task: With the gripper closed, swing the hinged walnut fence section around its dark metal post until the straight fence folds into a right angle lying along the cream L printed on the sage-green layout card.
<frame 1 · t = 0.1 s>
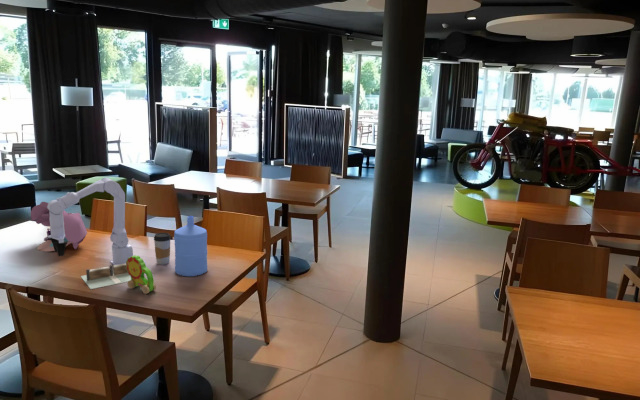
hand: (59, 253, 230), 10 cm above the table, tool pointing down, fingers open, 7 cm apart
water jug: (191, 271, 242), on the table
layout card: (112, 277, 230), on the table
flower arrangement: (58, 246, 269), on the table
hinged fence section: (98, 272, 227), point 3 cm above the table, hinge at 0.0°
coffee cup: (163, 262, 252), on the table
toy lion: (140, 289, 219), on the table
fixed fence section: (111, 276, 231), resting on layout card
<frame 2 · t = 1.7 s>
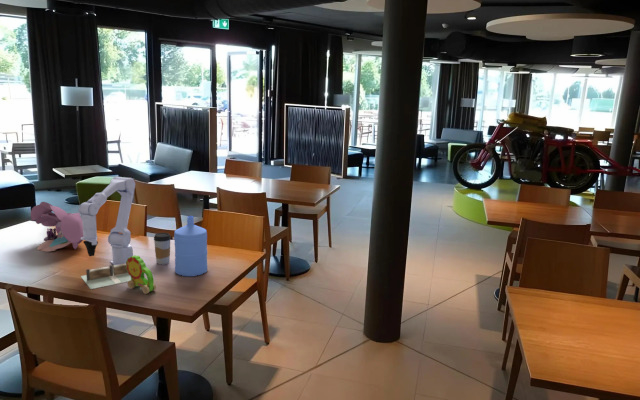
hand: (91, 255, 229), 10 cm above the table, tool pointing down, fingers closed
nothing on the table moved.
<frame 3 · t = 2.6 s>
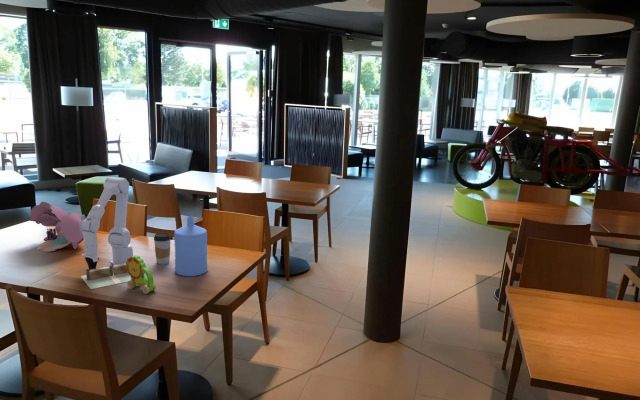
hand: (92, 271, 231), 2 cm above the table, tool pointing down, fingers closed
nothing on the table moved.
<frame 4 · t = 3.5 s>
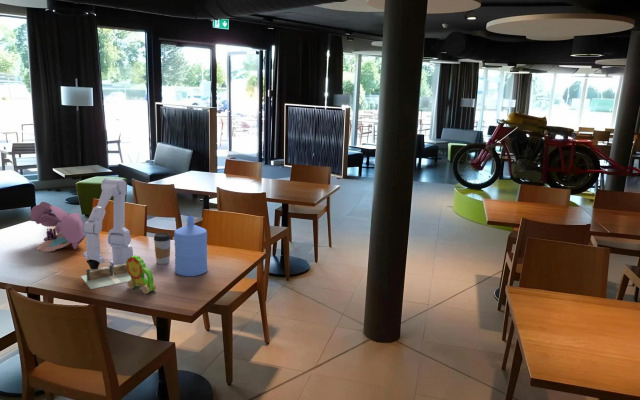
hand: (94, 274, 228), 2 cm above the table, tool pointing down, fingers closed, pressing on hinged fence section
hinged fence section: (98, 272, 227), point 3 cm above the table, hinge at 1.6°, touching gripper
everything else where it was.
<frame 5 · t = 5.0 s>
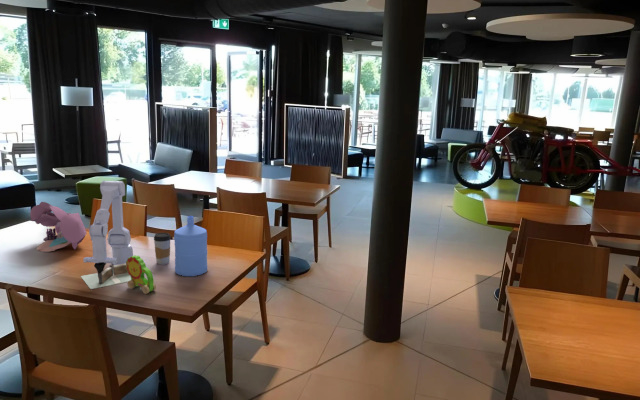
hand: (101, 277, 224), 2 cm above the table, tool pointing down, fingers closed, pressing on hinged fence section
hinged fence section: (105, 274, 225), point 3 cm above the table, hinge at 47.6°, touching gripper
everything else where it was.
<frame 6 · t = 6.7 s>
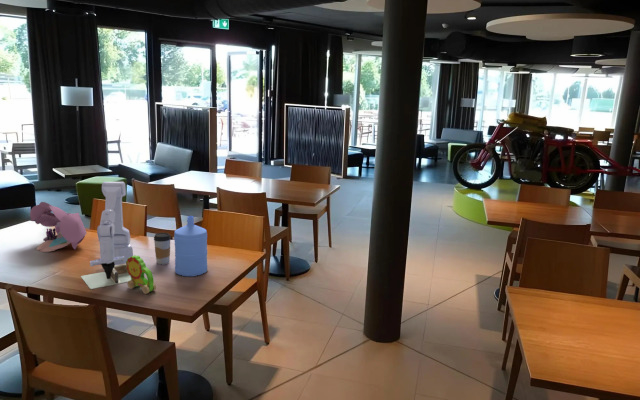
hand: (108, 278, 224), 2 cm above the table, tool pointing down, fingers closed
hinged fence section: (114, 274, 226), point 3 cm above the table, hinge at 86.6°
everything else where it was.
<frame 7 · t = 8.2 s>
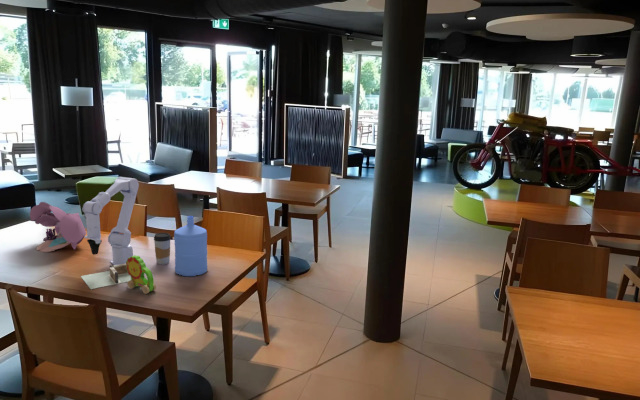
hand: (95, 254, 231), 10 cm above the table, tool pointing down, fingers closed
nothing on the table moved.
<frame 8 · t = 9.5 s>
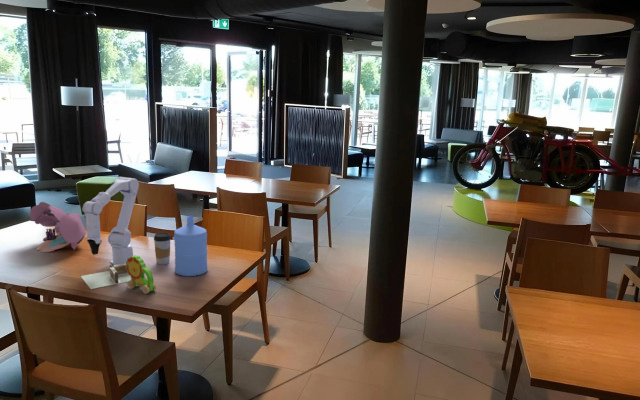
hand: (95, 254, 231), 10 cm above the table, tool pointing down, fingers closed
nothing on the table moved.
at the end: hinged fence section at +87° (first picture: +0°) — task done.
